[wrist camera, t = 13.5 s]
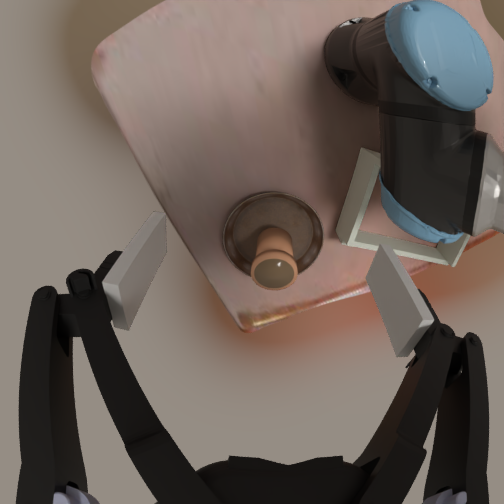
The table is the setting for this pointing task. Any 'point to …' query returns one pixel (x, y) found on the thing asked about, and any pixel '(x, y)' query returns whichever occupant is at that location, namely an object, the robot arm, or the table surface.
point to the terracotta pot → (274, 260)
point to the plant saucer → (273, 216)
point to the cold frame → (353, 236)
